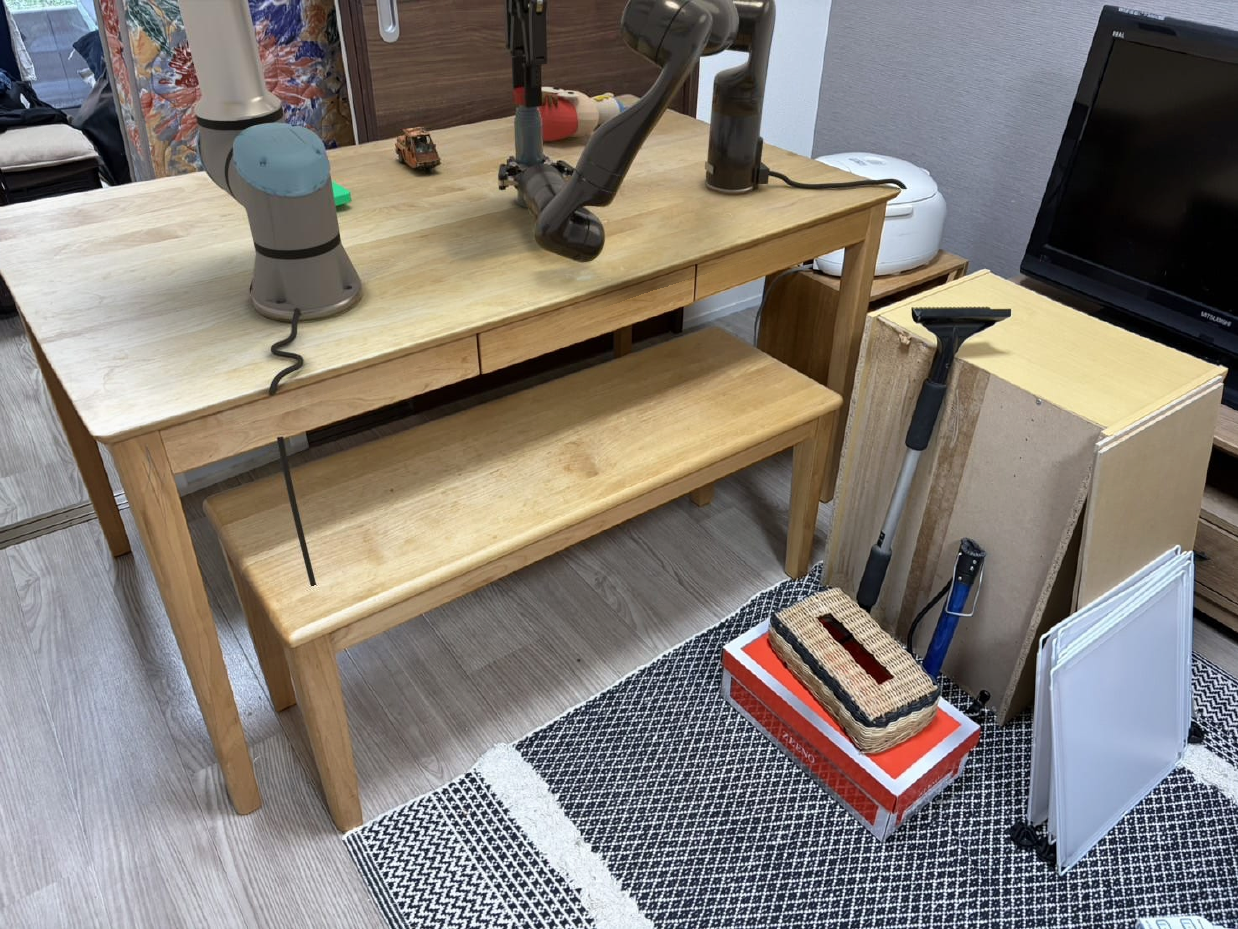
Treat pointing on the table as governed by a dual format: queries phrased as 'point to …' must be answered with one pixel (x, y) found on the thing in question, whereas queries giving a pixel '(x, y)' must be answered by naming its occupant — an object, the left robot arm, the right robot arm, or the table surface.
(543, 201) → the right robot arm
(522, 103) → the cap
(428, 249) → the table surface
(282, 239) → the left robot arm
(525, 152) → the bottle
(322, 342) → the table surface
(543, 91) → the toy
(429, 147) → the toy car
